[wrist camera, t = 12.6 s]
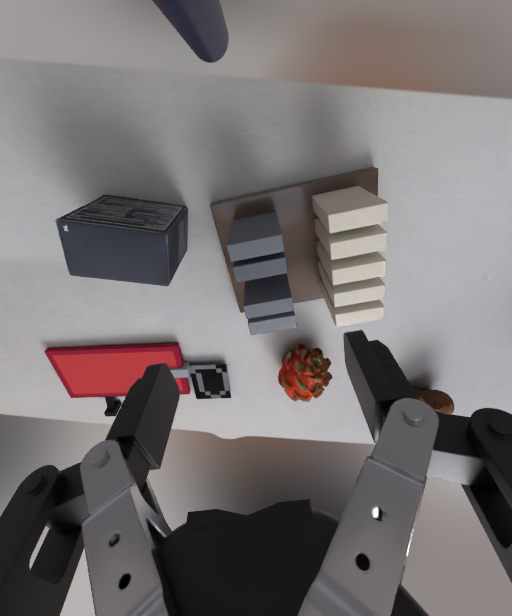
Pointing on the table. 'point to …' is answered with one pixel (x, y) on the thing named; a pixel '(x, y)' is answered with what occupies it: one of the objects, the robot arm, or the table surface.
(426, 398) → the decorative turtle
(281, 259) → the grey books
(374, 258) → the cream thin block
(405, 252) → the table surface
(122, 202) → the small box
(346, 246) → the white books
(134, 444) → the robot arm
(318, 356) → the dragon fruit
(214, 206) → the board
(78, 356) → the red board with handle
